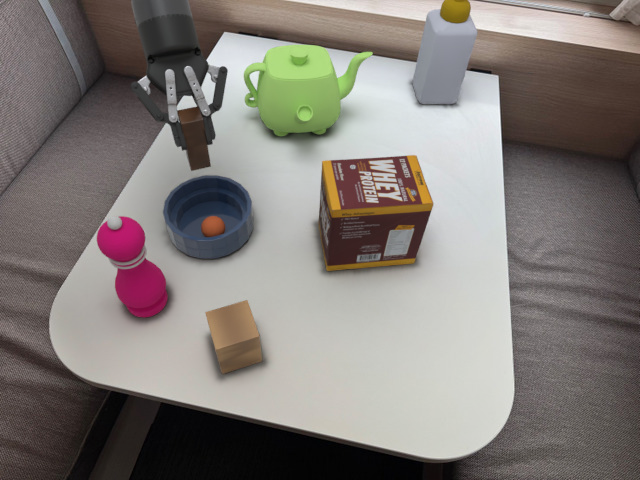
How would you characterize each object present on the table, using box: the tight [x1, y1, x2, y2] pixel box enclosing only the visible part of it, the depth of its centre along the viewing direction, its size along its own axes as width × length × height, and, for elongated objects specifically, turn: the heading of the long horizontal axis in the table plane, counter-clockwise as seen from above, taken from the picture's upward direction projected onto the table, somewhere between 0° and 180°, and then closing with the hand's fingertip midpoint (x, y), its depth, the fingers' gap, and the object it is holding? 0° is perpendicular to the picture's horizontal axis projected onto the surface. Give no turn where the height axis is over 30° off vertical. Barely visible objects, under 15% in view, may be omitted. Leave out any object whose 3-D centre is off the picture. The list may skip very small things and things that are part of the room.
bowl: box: [162, 174, 254, 260], centre depth 89 cm, size 14×14×6 cm
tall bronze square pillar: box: [177, 105, 212, 172], centre depth 75 cm, size 3×3×9 cm
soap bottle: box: [411, 0, 478, 105], centre depth 107 cm, size 9×9×25 cm
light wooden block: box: [204, 299, 263, 375], centre depth 74 cm, size 6×6×8 cm
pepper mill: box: [96, 215, 168, 318], centre depth 73 cm, size 7×7×20 cm
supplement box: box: [317, 154, 435, 272], centre depth 84 cm, size 10×15×16 cm
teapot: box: [243, 44, 374, 137], centre depth 102 cm, size 25×22×16 cm
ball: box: [201, 216, 225, 237], centre depth 87 cm, size 4×4×4 cm
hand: (197, 146), depth 73 cm, fingers closed on tall bronze square pillar, 3 cm apart
